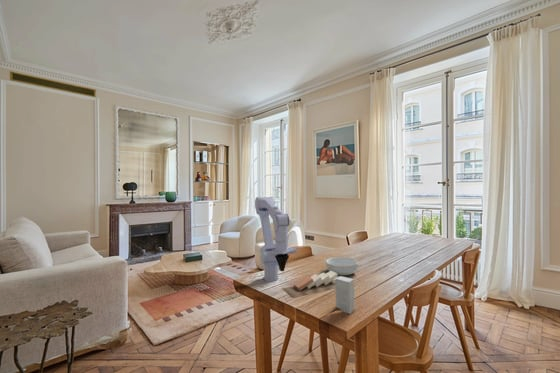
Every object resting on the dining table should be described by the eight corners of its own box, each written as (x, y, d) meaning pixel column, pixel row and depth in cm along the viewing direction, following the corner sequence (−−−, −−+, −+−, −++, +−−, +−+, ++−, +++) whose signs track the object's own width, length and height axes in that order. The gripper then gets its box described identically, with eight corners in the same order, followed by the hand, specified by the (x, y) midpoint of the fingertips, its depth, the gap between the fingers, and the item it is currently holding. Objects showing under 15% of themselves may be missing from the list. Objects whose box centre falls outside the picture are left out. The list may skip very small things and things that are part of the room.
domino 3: (324, 282, 119) (336, 273, 122) (318, 279, 124) (330, 270, 127) (325, 285, 119) (338, 276, 122) (319, 281, 124) (331, 273, 127)
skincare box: (355, 310, 97) (354, 279, 97) (350, 314, 94) (349, 282, 94) (340, 305, 101) (340, 275, 101) (335, 309, 98) (334, 278, 98)
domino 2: (315, 284, 117) (329, 275, 120) (310, 280, 122) (323, 272, 125) (316, 287, 117) (330, 278, 121) (311, 283, 122) (324, 275, 125)
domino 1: (307, 286, 115) (321, 277, 118) (301, 282, 120) (315, 273, 123) (308, 289, 116) (322, 280, 119) (303, 285, 120) (316, 276, 123)
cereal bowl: (332, 267, 149) (332, 255, 149) (361, 271, 141) (361, 259, 141) (321, 276, 135) (321, 263, 135) (353, 281, 126) (352, 267, 126)
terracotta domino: (298, 287, 114) (312, 278, 117) (293, 283, 118) (306, 275, 121) (299, 290, 114) (313, 281, 117) (294, 286, 118) (308, 278, 121)
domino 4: (332, 280, 121) (346, 279, 125) (326, 276, 126) (339, 276, 129) (332, 283, 121) (345, 283, 124) (326, 280, 126) (339, 279, 129)
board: (292, 300, 107) (292, 297, 107) (281, 290, 117) (281, 288, 117) (341, 289, 117) (341, 287, 117) (327, 281, 127) (327, 279, 127)
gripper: (269, 244, 108) (270, 275, 108) (299, 240, 114) (300, 270, 114) (264, 241, 115) (264, 271, 115) (292, 237, 121) (293, 266, 121)
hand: (281, 270), depth 115 cm, fingers closed
